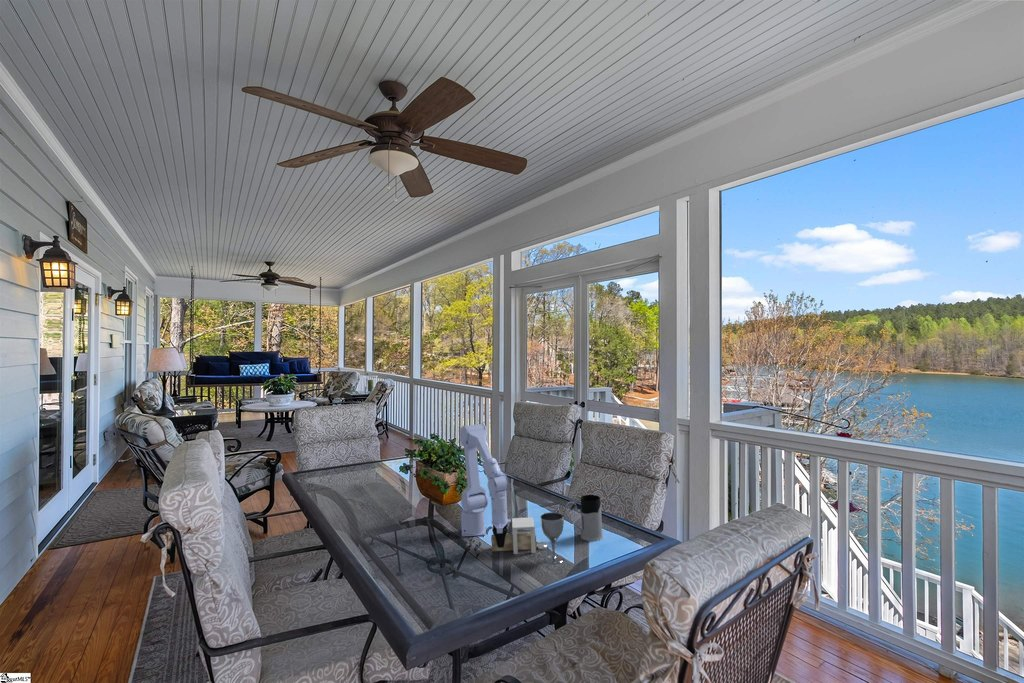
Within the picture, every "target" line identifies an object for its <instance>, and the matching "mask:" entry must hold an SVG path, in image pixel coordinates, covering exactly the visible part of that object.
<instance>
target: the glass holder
mask: <svg viewBox="0 0 1024 683" xmlns="http://www.w3.org/2000/svg"><path fill="white" fill-rule="evenodd" d="M569 504H573V505H575V511H576V513H577V514H580V521H581V525H580V526H581V528H580V526H578V525H577V524H576V523H574V521H572V520H571V518H570V516H569V515H568V510H567V509H568V508H567V507H568V505H569ZM580 509H581V510H580V511H578V507H577V504H576V502H574V501H569V502H567V503H566V504H565V513H566V517H567V519H568V520H569V522H570V523H571V524H573V526H575V527H576V528H577V529H578V530H580V533H581V534H580V538H581V539H582V540H584V541H587V542H598V541H597V540H599V541H601V540H600V539H601V538H603V536H604V534H603V523H602V521H603V520H602V519H603V518H602V504H601V497H600V496H599V495H595V494H584V495H582V496H580ZM603 539H604V538H603Z"/></svg>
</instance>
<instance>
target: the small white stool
mask: <svg viewBox="0 0 1024 683" xmlns="http://www.w3.org/2000/svg"><path fill="white" fill-rule="evenodd" d="M511 522H512V523H511V524H512V525H511V526H512V527H511V528H512V534H513V550H512V551H513V555H518V553H519V552H518V551H519V550H518V547H517V534H520V533H531V549H530V551H531V554H536V553H537V552H536V550H537V549H536V547H535V533H536V530H535V528H536V527H535V521H534V517H513V518H511Z"/></svg>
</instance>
